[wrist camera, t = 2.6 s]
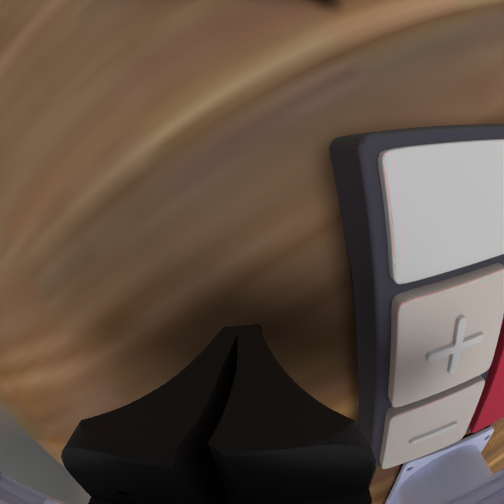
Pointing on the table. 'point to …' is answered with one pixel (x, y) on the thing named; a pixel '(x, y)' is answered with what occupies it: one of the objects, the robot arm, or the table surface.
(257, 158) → the table surface
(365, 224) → the calculator
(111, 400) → the table surface
